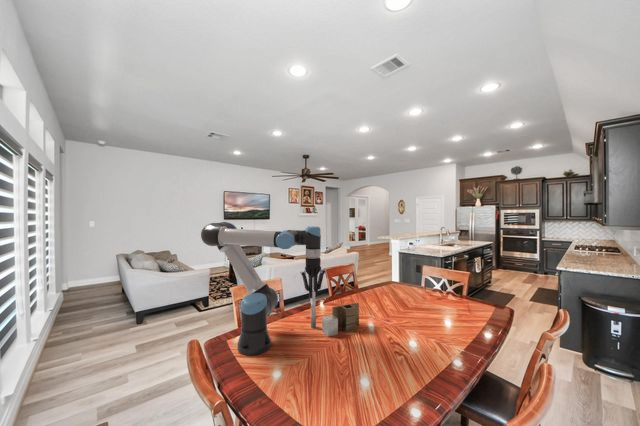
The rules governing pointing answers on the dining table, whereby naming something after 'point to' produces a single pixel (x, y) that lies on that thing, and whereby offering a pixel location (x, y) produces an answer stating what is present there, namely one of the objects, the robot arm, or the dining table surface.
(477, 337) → the dining table surface
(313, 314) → the pin
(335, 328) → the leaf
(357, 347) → the dining table surface
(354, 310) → the brown holed block
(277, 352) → the dining table surface
